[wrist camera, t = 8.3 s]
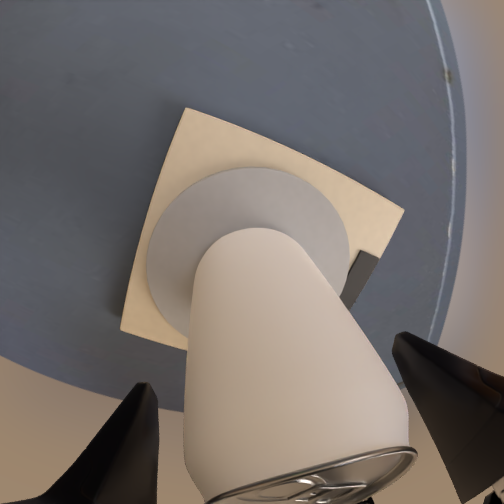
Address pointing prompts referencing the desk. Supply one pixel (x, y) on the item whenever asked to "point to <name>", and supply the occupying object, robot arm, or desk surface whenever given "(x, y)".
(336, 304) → the can
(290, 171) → the scale
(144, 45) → the desk surface
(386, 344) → the desk surface
